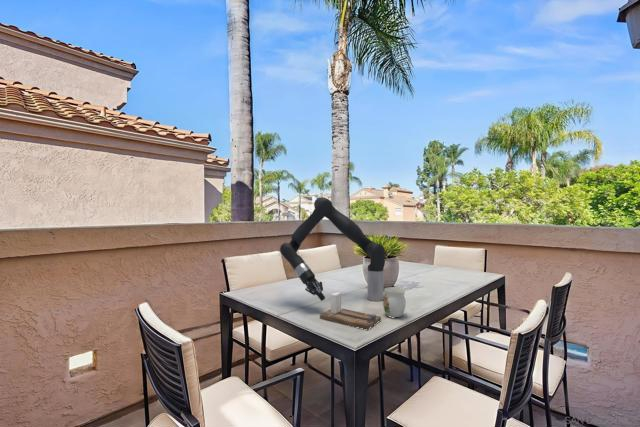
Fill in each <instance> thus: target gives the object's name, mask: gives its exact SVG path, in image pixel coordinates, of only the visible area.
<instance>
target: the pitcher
mask: <svg viewBox="0 0 640 427" xmlns="http://www.w3.org/2000/svg"><path fill="white" fill-rule="evenodd" d="M405 292H406V290H405V289H404V288H402V287H397V286H396V287H395V286H394V287H393V286H391V287H385V288H383V300H382V301H383V302H382V304H383V309H384V312H385V314H386V315H387V317H388V316H391V317H400V316H401V317H402V316H403V315H404V312H405V310H406V298H405ZM391 317H390V318H391ZM401 317H400V318H401Z"/></svg>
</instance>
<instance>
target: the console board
mask: <svg viewBox="0 0 640 427" xmlns="http://www.w3.org/2000/svg"><path fill="white" fill-rule="evenodd" d="M319 319H321V320H323V321H328V322H333V323H336V324H340V325H344V326H348V325H349V326H348V327H352V326H354V327H353V328H356V327H359V328H358V329H360V328H363V329H362V330H364V329H369V328H370V327H372V326H373V325H374V324H376V323H377V322H378V321H380V320H382V318H381V316H378V315H377V314H373V313H372V314H370V313H365V312H360V311H355V310H351V309H346V308H342V307H341V311H340V312H338V313H336V314H335V313H331V308H330V309H327V310H326V311H324V312H322V313H320V314H319ZM380 322H381V321H380ZM377 324H378V323H377ZM377 324H376V325H377ZM373 327H374V326H373ZM373 327H372V328H373ZM370 329H371V328H370ZM370 329H369V330H370Z"/></svg>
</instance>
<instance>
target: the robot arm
mask: <svg viewBox="0 0 640 427" xmlns="http://www.w3.org/2000/svg"><path fill="white" fill-rule="evenodd" d="M313 206H314V208H313V211H312V212H311V213H310V215H309V216H308V217H307V218H306V219H305V220H304V221H303V222H302V223H301V224H300V225H299V226H298V227H297V228H296V229H295V231H294V232H293V233H292V235H291V236H290V238H291V240H290V241H289V242H283V243H282V244H281V245H280V247H279V251H280V254H281V255H282V256H283V257H284V259H285V260H286V261H287V262H288V263H289V264H290V266H291V267H292V269H293V270H294V272H295V273H296V275H297V277H298V278H299V280H301V282H302V284H303V285H305V286H306V287H305V291H306V292H308V293H310V294H311V295H313V296H317V297H318V299H319V300H320V301H321V302H323V301H324V300H326V296H325V295H324V293H323V291H324V287H323V282H322V281H318V279H316V275H315V273H314V272H313V270H312V269H311V268H310V266H309V265H308V264H307V262H305V260H304V259H303V257H302V256H301V255H299V254H298V253H297V252H298V251H299V249H300V247H301V245H302V244H303V242H304V241H305V239H306V238H307V237H308V236H309V234H310V233H311V232H312V230H314V229H315V227H316V226H317V225H318V224H319V223H320V222H321V221H322V220H323V219H324V218H326V219H328V220H329V222H331V223H332V224H333V226H335V228H336V229H338V230H339V231H340V233H341V234H343V235H344V236H345V237H346V238H348V239H349V240H350V241H351V242H352V243H354V244H355V245H357V246H358V248H360V249H361V250H362V251H363V252H364V254H366V256H368V257H369V258H370V262H369V264H368V265H367V300H369V301H371V302H372V301H373V302H382V301H383V298H384V267H385V265H386V248H385V247H384V245H383V244H381V243H377V242H374V241H372V240H371V239H369V237H367V236H366V235H365V234H364V232H363V230H362V229H361V228H360V226H359V224H357V223H355V221H353V220H352V219H350V218H349V217H348V216H346V215H345V214H344V213H342V212H340V211H339V210H337V209H336V207H335V206H334V205H333V203H332V201H331V200H330V199H329V198H326V197H323V196H320V197H317V198H316V199H315V200H314V202H313ZM381 300H382V301H381Z"/></svg>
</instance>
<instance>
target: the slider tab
mask: <svg viewBox="0 0 640 427" xmlns="http://www.w3.org/2000/svg"><path fill="white" fill-rule="evenodd" d="M341 308H342V293H341V292H334V293H331V294H330V309H331V313H335V314H336V313H338V312H340V311H341Z"/></svg>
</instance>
